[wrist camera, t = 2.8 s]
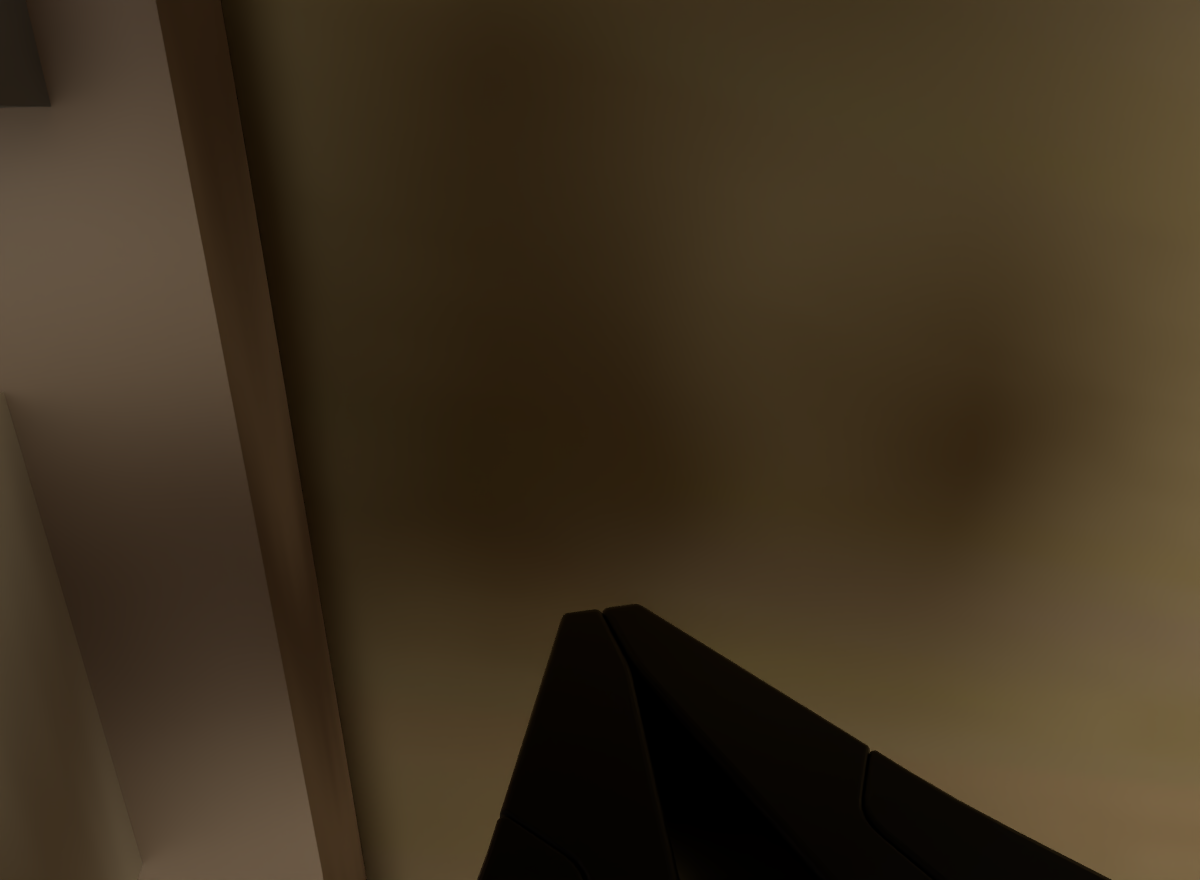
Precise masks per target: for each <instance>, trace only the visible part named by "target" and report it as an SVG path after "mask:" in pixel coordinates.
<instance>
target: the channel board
mask: <svg viewBox="0 0 1200 880" xmlns="http://www.w3.org/2000/svg"><path fill="white" fill-rule="evenodd" d="M1 392H4V395H5V398H6V401H7V405H8V408H9V412H10V415H11V418H12V422H13V425H14V429H15V432H16V435H17V439H18V442H19V446H20V449H21V452H22V456H23V459H24V463H25V466H26V469H27V473H28V476H29V480H30V483H31V486H32V490H33V493H34V497H35V500H36V503H37V507H38V510H39V514H40V517H41V520H42V524H43V527H44V531H45V534H46V537H47V541H48V544H49V548H50V551H51V554H52V558H53V561H54V565H55V568H56V571H57V575H58V578H59V582H60V585H61V588H62V592H63V595H64V598H65V602H66V605H67V609H68V612H69V615H70V619H71V622H72V626H73V629H74V632H75V636H76V639H77V643H78V646H79V649H80V653H81V656H82V660H83V663H84V666H85V670H86V673H87V677H88V680H89V683H90V687H91V690H92V694H93V697H94V700H95V704H96V707H97V711H98V714H99V717H100V721H101V724H102V728H103V731H104V734H105V738H106V741H107V745H108V748H109V751H110V755H111V758H112V762H113V765H114V768H115V772H116V775H117V779H118V782H119V785H120V789H121V792H122V796H123V799H124V802H125V806H126V809H127V813H128V816H129V819H130V823H131V826H132V830H133V833H134V836H135V840H136V843H137V847H138V850H139V853H140V857H141V860H142V863H143V865H142V868H141V871H140V874H139V877H138V879H137V880H367V879H366V873H365V867H364V861H363V855H362V849H361V843H360V837H359V831H358V825H357V819H356V813H355V807H354V801H353V795H352V789H351V783H350V777H349V771H348V765H347V759H346V753H345V747H344V740H343V734H342V728H341V722H340V716H339V710H338V704H337V698H336V692H335V686H334V680H333V674H332V668H331V662H330V656H329V650H328V644H327V638H326V632H325V626H324V620H323V614H322V608H321V602H320V596H319V590H318V584H317V578H316V572H315V566H314V560H313V554H312V548H311V542H310V536H309V530H308V524H307V517H306V511H305V505H304V499H303V493H302V487H301V481H300V475H299V469H298V463H297V457H296V451H295V445H294V439H293V433H292V427H291V421H290V415H289V409H288V403H287V397H286V391H285V385H284V379H283V373H282V367H281V361H280V355H279V349H278V343H277V337H276V331H275V325H274V319H273V313H272V307H271V301H270V295H269V288H268V282H267V276H266V270H265V264H264V258H263V252H262V246H261V240H260V234H259V228H258V222H257V216H256V210H255V204H254V198H253V192H252V186H251V180H250V174H249V168H248V162H247V156H246V150H245V144H244V138H243V132H242V126H241V120H240V114H239V108H238V102H237V96H236V90H235V84H234V78H233V72H232V65H231V59H230V53H229V47H228V41H227V35H226V29H225V23H224V17H223V11H222V5H221V0H0V393H1Z"/></svg>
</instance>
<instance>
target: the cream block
mask: <svg viewBox="0 0 1200 880" xmlns="http://www.w3.org/2000/svg"><path fill="white" fill-rule="evenodd" d="M142 865H143V863H142V860H141V857H140V853H139V850H138V847H137V843H136V840H135V836H134V833H133V830H132V826H131V823H130V819H129V816H128V813H127V809H126V806H125V802H124V799H123V796H122V792H121V789H120V785H119V782H118V779H117V775H116V772H115V768H114V765H113V762H112V758H111V755H110V751H109V748H108V745H107V741H106V738H105V734H104V731H103V728H102V724H101V721H100V717H99V714H98V711H97V707H96V704H95V700H94V697H93V694H92V690H91V687H90V683H89V680H88V677H87V673H86V670H85V666H84V663H83V660H82V656H81V653H80V649H79V646H78V643H77V639H76V636H75V632H74V629H73V626H72V622H71V619H70V615H69V612H68V609H67V605H66V602H65V598H64V595H63V592H62V588H61V585H60V582H59V578H58V575H57V571H56V568H55V565H54V561H53V558H52V554H51V551H50V548H49V544H48V541H47V537H46V534H45V531H44V527H43V524H42V520H41V517H40V514H39V510H38V507H37V503H36V500H35V497H34V493H33V490H32V486H31V483H30V480H29V476H28V473H27V469H26V466H25V463H24V459H23V456H22V452H21V449H20V446H19V442H18V439H17V435H16V432H15V429H14V425H13V422H12V418H11V415H10V412H9V408H8V405H7V401H6V398H5V395H4V392H1V393H0V880H137V879H138V877H139V874H140V871H141V868H142Z"/></svg>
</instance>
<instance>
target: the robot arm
mask: <svg viewBox="0 0 1200 880" xmlns="http://www.w3.org/2000/svg"><path fill="white" fill-rule="evenodd" d="M477 880H1111V879H1109V878H1107V877H1105V876H1103V875H1101V874H1099V873H1097V872H1095V871H1093V870H1091V869H1090V868H1088V867H1086V866H1084V865H1082V864H1080V863H1078V862H1076V861H1074V860H1072V859H1070V858H1068V857H1066V856H1064V855H1062V854H1060V853H1058V852H1056V851H1054V850H1052V849H1050V848H1049V847H1047V846H1045V845H1043V844H1041V843H1039V842H1037V841H1035V840H1033V839H1031V838H1029V837H1027V836H1025V835H1023V834H1021V833H1019V832H1017V831H1015V830H1014V829H1012V828H1010V827H1008V826H1006V825H1004V824H1002V823H1000V822H999V821H997V820H995V819H993V818H991V817H989V816H987V815H986V814H984V813H982V812H980V811H978V810H976V809H974V808H972V807H971V806H969V805H967V804H965V803H963V802H961V801H959V800H958V799H956V798H954V797H952V796H951V795H949V794H947V793H946V792H944V791H942V790H941V789H939V788H937V787H935V786H934V785H932V784H930V783H929V782H927V781H925V780H924V779H922V778H920V777H918V776H917V775H915V774H913V773H912V772H910V771H908V770H907V769H905V768H903V767H902V766H900V765H899V764H897V763H895V762H894V761H892V760H890V759H889V758H887V757H886V756H884V755H882V754H881V753H879V752H878V751H871V752H870V749H869V747H868V746H867V745H866V744H864V743H862V742H861V741H859V740H858V739H856V738H854V737H853V736H851V735H850V734H848V733H846V732H845V731H843V730H842V729H840V728H838V727H837V726H835V725H833V724H832V723H830V722H829V721H827V720H825V719H824V718H822V717H821V716H819V715H817V714H816V713H814V712H812V711H811V710H809V709H808V708H806V707H804V706H803V705H801V704H800V703H798V702H796V701H795V700H793V699H792V698H790V697H788V696H787V695H785V694H783V693H782V692H780V691H779V690H777V689H775V688H774V687H772V686H771V685H769V684H767V683H766V682H764V681H762V680H761V679H759V678H758V677H756V676H754V675H753V674H751V673H750V672H748V671H746V670H745V669H743V668H741V667H740V666H738V665H737V664H735V663H733V662H732V661H730V660H729V659H727V658H725V657H724V656H722V655H721V654H719V653H717V652H716V651H714V650H712V649H711V648H709V647H708V646H706V645H704V644H703V643H701V642H700V641H698V640H696V639H695V638H693V637H691V636H690V635H688V634H687V633H685V632H683V631H682V630H680V629H679V628H677V627H675V626H674V625H672V624H670V623H669V622H667V621H666V620H664V619H662V618H661V617H659V616H658V615H656V614H654V613H653V612H651V611H650V610H648V609H646V608H645V607H643V606H641V605H639V604H630V605H623V606H616V607H609V608H606V609H604V610H603V612H602V613H601V612H600V611H599V610H595V609H594V610H586V611H579V612H572V613H566V614H565V615H563V617H562V619H561V622H560V625H559V628H558V631H557V634H556V638H555V641H554V644H553V647H552V650H551V653H550V657H549V660H548V663H547V666H546V669H545V673H544V676H543V679H542V682H541V685H540V688H539V692H538V695H537V698H536V701H535V704H534V707H533V711H532V714H531V717H530V720H529V723H528V727H527V730H526V733H525V736H524V739H523V742H522V746H521V749H520V752H519V755H518V758H517V762H516V765H515V768H514V771H513V774H512V777H511V781H510V784H509V787H508V790H507V793H506V797H505V800H504V803H503V806H502V809H501V813H500V818H499V819H498V821H497V824H496V827H495V830H494V833H493V836H492V839H491V843H490V846H489V849H488V852H487V855H486V857H485V860H484V863H483V866H482V868H481V871H480V874H479V877H478V879H477Z"/></svg>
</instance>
